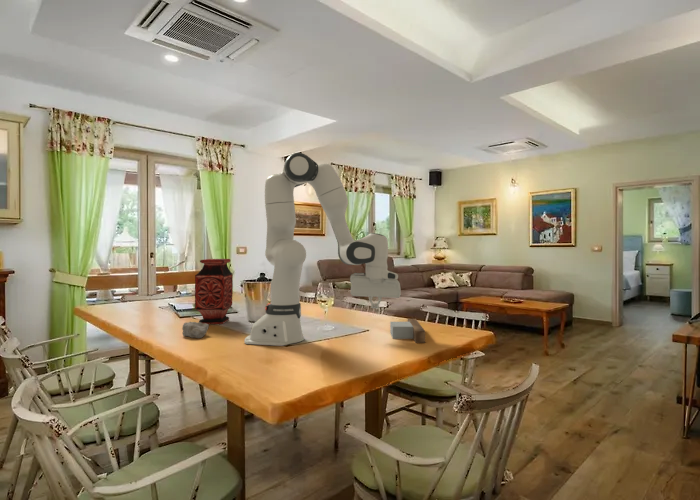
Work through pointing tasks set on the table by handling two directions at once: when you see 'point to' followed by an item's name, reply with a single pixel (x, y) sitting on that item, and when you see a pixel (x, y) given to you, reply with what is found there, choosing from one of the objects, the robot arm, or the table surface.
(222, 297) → the vase
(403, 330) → the block
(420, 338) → the dark brown bar
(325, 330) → the table surface
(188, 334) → the stone
